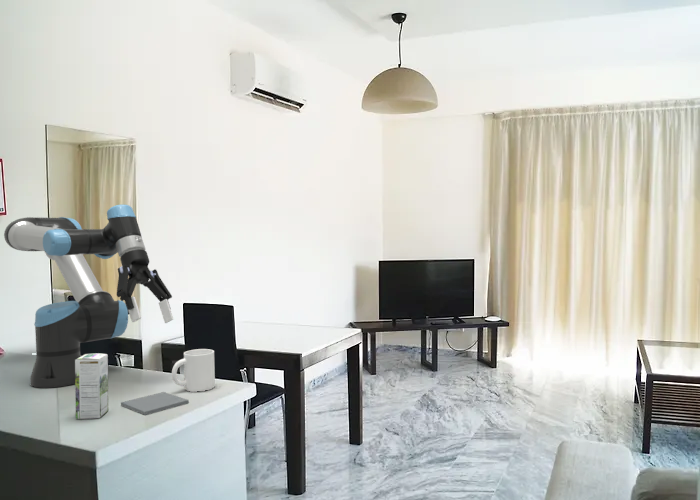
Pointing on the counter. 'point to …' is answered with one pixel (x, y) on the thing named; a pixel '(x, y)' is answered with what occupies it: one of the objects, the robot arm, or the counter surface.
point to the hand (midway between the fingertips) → (153, 320)
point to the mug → (196, 370)
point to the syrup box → (91, 386)
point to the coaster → (154, 403)
